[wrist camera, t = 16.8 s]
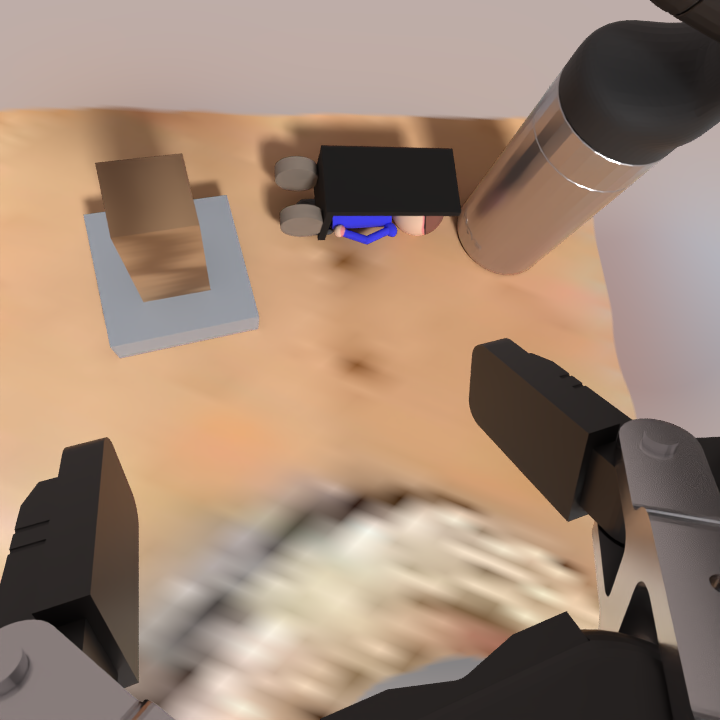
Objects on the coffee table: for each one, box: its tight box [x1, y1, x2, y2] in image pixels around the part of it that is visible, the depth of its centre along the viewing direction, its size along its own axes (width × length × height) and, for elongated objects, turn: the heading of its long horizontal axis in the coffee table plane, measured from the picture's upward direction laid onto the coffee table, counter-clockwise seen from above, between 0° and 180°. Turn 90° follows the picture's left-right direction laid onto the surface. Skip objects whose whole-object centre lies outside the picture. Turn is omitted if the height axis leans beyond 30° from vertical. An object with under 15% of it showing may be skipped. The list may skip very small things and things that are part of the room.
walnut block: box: [95, 154, 211, 302], centre depth 35 cm, size 5×5×10 cm
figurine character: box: [275, 145, 461, 244], centre depth 45 cm, size 7×8×15 cm
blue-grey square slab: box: [84, 195, 259, 358], centre depth 41 cm, size 11×11×3 cm
